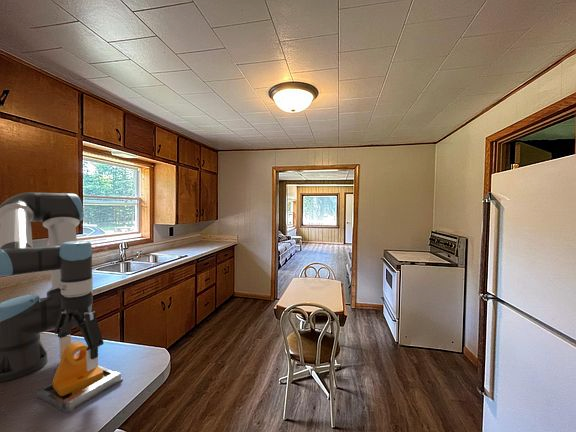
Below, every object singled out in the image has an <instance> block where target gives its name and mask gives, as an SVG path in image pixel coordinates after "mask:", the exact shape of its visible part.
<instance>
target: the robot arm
mask: <svg viewBox="0 0 576 432" xmlns="http://www.w3.org/2000/svg"><path fill="white" fill-rule="evenodd" d="M84 217H85V216H84V208H83V203H82V200H81V198H80V196H79V195H78V194H76V193H67V192H62V193H61V192H60V193H57V192H35V191H33V192H31V191H30V192H22V193H18V194H15V195H13V196H11V197H9V198H7V199H5V200H4V201H3V202H2V203H1V204H0V277H10V276H15V275H23V274H25V275H26V274H32V273H39V272H41V273H42V272H49V271H50V279H51V287H50V289H48V290H47V291H46V297H40V295H38V294H27V295H25V294H24V295H21V296H18V297H13V298H10V299H7V300H5V301H2V302H0V383H3V382H9V381H12V380H15V379H18V378H21V377H25V376H27V375H30V374H32V373H34V372H35V371H37V370H39V369H41V368H42V367H44V366H45V365H46V364H47V363H48V352H47V351H46V348H45V346H44V345H43V342H42V340H41V333H45V332H49V331H53V330H54V334H55V335H57V338H59V340H58V342H59V345H58V346H59V360H61V358H62V355H63V353H64V350H65V349H66V347H67V346H68V345H70V344H71V343H72V335H71V333H72V332H71V330H72V329H73V327H74V326H75V327H76V328H77V330H80V332H81V334H82V337H83V339H84V341H85V343H86V346H87V347H88V348H87V349H86V361H87V371H90V370H92V369H94V368H96V367H98V365H99V347H101V346H103V345H104V339H103V337H102V333H101V329H100V326H99V324H98V319H97V312H96V311H92V307H93V302H94V301H93V300H94V295H93V294H94V293H93V289H94V288H93V284H94V283H93V254H94V253H93V248H92V247H93V246H92V243H91V242H90V241H89V240H88V241H87V240H77V239H78V238H77V230H76V229H77V227H78V226H79V225H80V222H81V221H83V220H84ZM31 222H33V223H34V222H35V223H37V222H40V223H41V222H42V227H44V228H45V229H47V230H48V231H47V232H48V245H46V246H45V245H44V246H35V247H34V245H33V234H32V223H31Z"/></svg>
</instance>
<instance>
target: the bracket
mask: <svg viewBox="0 0 576 432" xmlns="http://www.w3.org/2000/svg"><path fill="white" fill-rule="evenodd" d="M87 348H88V346H87V344H85V343H84V342H82V341H73V342H71V344H70V345H68V346H67V347H66V349H65V350H64V353H63V355H62V358H61V359H59V363H58V365H57V366H58V367H57V369H56V372H55V374H54V375H53V376H54V377H53V379H52V383H53V388H54V389H55V390H56V392H57V393H58V394H59V395H60V396H64V395H66V394H68V393H71V394H72V395H73V394H75V393H77V392H79V391H81V390H83V389H85V388H86V387H88V386H90V385H92V384H94V383H95V381H98V380H100V379H102V378H103V370H102V369H101V368H100V367H99V366H100V365H99V366H98V367H96V368H94V369H92V370H90V371H87V361H86V349H87ZM76 353H77V354H76Z"/></svg>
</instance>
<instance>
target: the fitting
mask: <svg viewBox="0 0 576 432" xmlns="http://www.w3.org/2000/svg"><path fill="white" fill-rule="evenodd" d="M98 366H99V367H100V368H101V369H102V370H103V378H102V379H100V380H98V381H95V383H94V384H92V385H90V386H88V387H86V388H85V389H83V390H81V391H79V392H77V393H75V394H73V395H72V394H71V393H68V394H66V395H64V396H60V395H59V394H58V393H57V392H56V390H55V389H54V388H53V382H52V383H50V384H48V385H45V386H44V387H41V388H40V389H38V390H36V395H37V398H39V399H41V400H43V401H44V402H46V403H48V404H50V405H52V406H53V407H55V408H58V409H59V410H61V411H62V412H64V413H67V414H68V413H71V412H73V411H74V410H75V409H77V408H79V407H80V406H82V405H84V404H85V403H87V402H88V401H91V400H92V399H94V398H95V397H97V396H99V395H100V394H102V393H103V392H105V391H107V390H109V389H110V388H113V387H114V386H115V385H117V384H118V383H121V382H122V381H123V380H124V379H123V378H122V372H118V371H116V370H115V371H114V370H112V369H109V368H107V367H104V366H102V365H99V364H98Z"/></svg>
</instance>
